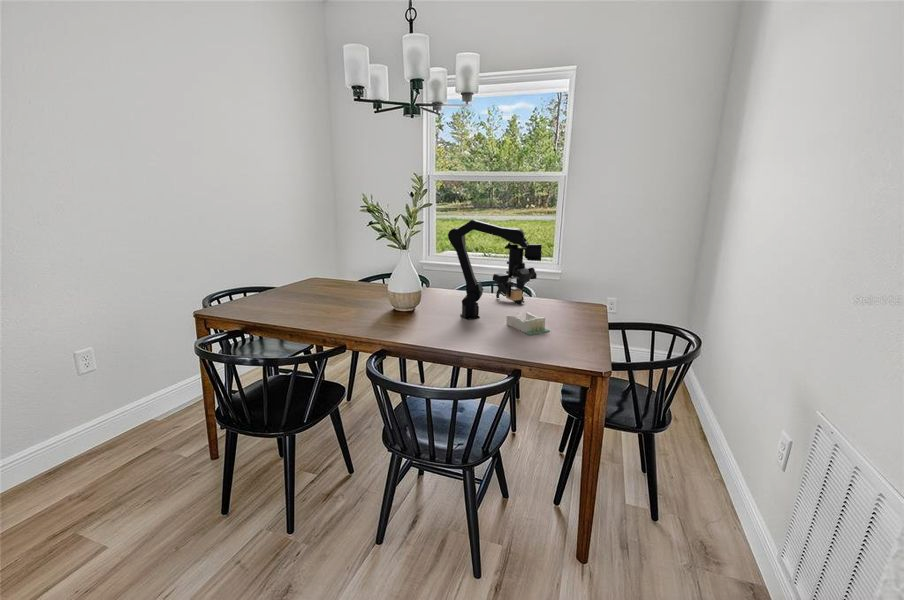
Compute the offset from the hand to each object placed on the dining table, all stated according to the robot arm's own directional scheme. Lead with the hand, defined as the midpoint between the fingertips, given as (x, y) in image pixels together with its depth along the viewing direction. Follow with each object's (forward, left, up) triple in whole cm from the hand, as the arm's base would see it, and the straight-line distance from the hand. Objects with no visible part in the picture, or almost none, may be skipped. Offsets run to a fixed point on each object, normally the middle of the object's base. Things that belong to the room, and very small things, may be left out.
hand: (513, 296), depth 177 cm
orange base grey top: (0, 0, -1) cm, 1 cm away
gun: (+16, +24, -11) cm, 31 cm away
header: (0, -11, -11) cm, 15 cm away
